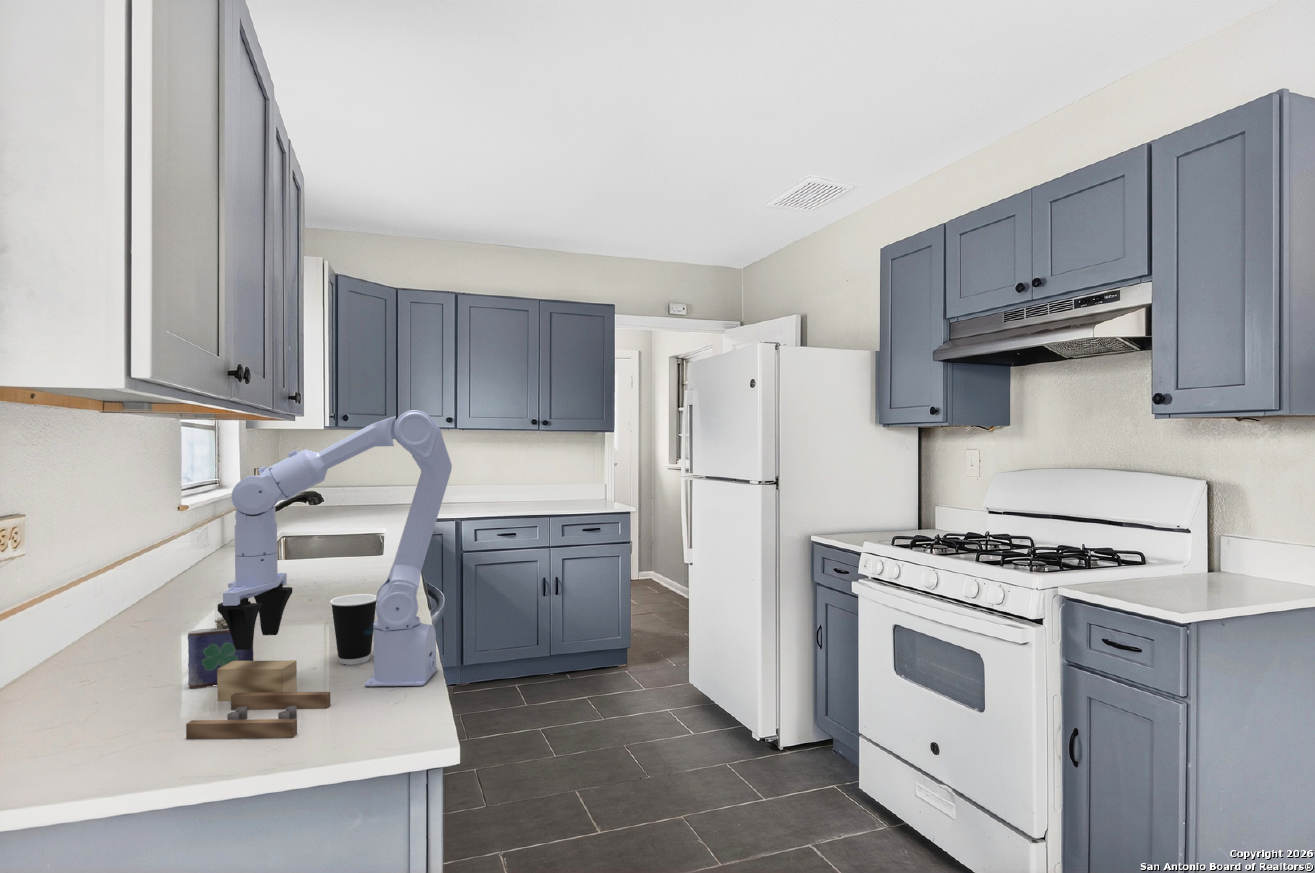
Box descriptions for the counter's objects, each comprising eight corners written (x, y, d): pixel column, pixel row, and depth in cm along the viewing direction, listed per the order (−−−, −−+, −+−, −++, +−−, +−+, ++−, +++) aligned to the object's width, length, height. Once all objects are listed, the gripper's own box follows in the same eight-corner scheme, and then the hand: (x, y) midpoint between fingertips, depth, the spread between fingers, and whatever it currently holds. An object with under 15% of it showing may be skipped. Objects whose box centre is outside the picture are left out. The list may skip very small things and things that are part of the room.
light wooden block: (296, 692, 113) (296, 660, 113) (283, 701, 109) (283, 668, 109) (233, 692, 113) (233, 660, 113) (217, 701, 109) (217, 669, 109)
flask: (186, 689, 114) (186, 622, 114) (191, 683, 117) (191, 617, 117) (252, 682, 117) (251, 616, 117) (255, 677, 120) (255, 612, 120)
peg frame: (330, 705, 107) (330, 691, 107) (292, 737, 96) (292, 722, 96) (235, 706, 107) (235, 692, 107) (186, 738, 95) (186, 723, 95)
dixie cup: (383, 662, 127) (382, 599, 127) (334, 670, 123) (334, 606, 123) (373, 651, 134) (372, 591, 134) (326, 658, 129) (326, 597, 129)
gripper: (255, 546, 118) (256, 629, 118) (201, 562, 104) (202, 656, 104) (299, 546, 118) (299, 628, 118) (250, 561, 104) (251, 655, 104)
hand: (257, 641), depth 111 cm, fingers open, 7 cm apart
